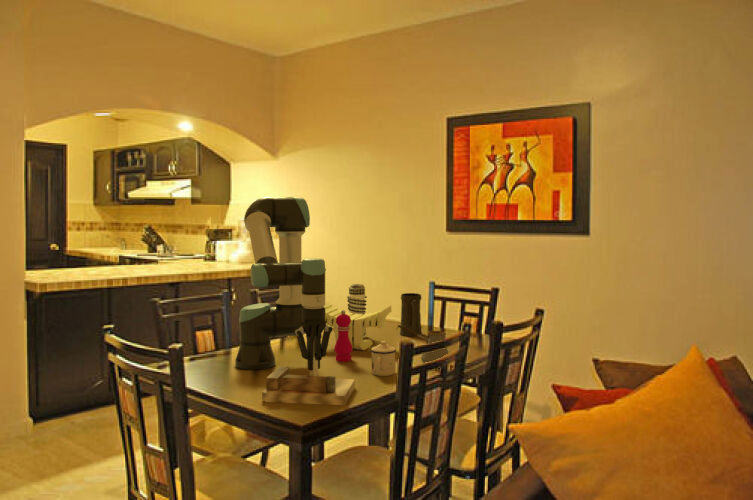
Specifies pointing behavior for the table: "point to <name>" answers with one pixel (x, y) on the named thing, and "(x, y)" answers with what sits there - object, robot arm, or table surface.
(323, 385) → the hinged leg
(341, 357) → the pepper mill
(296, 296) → the robot arm
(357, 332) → the slatted curved stool
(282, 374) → the wooden board with block
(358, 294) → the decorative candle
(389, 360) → the teacup with lid
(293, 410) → the table surface
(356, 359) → the table surface
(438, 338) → the coffee pot
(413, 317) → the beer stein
